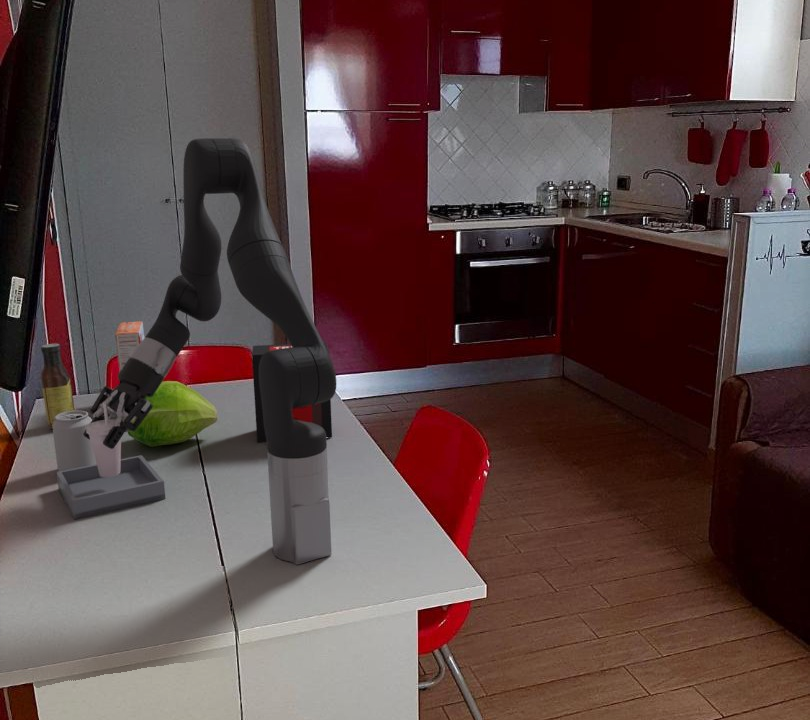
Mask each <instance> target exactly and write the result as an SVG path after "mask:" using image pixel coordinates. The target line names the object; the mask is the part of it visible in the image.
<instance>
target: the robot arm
mask: <svg viewBox="0 0 810 720" xmlns="http://www.w3.org/2000/svg"><path fill="white" fill-rule="evenodd" d="M182 172H183V182H182V183H183V219H184V222H183V223H184V225H183V226H184V233H183V243H182V250H181V256H180V257H181V258H180V264H179V265H180V266H179V269H180V273H181V274H180V275H178V276H175V277H174V278H173V279H172V280H171V281H170V283H169V285H168V287H167V289H166V291H165V293H166V294H165V296H164V298H163V299H164V300H163V302H162V306H161V308H160V311H159V314H158V315H157V318H156V320H155V322H154V323H153V325H152V326H151V328H150V329H149V331H148V332H147V334H146V335H145V336H144V339H143V341H142V342H141V343H140V344H139V345H138V346H137V347H136V349H135V350H134V352H133V353H132V355H131V356H130V358H129V359H128V361H127V362H126V364H125V365H124V366H123V368H122V369H121V371H119V372H118V374H117V379H118V381H119V383H118V385H116V387H114V388H111V387H109V386H108V385H105V386H104V387H103V388H102V389H101V391H100V393H99V395H98V397H97V398H96V400H95V402H94V403H93V404H92V406H91V408H90V410H89V413H91V415H92V421H91V423H93V422H96V421H100V420H105V416H104V408H103V402H106V406H107V414H108V420H109V419H111V418H115V417H116V419H115V420H116V424H115V426H116V427H115V426H113V427H112V429H111V430H110V432H109V433H108V435H107V436H106V438H105V439H104V441H103V444H104V445H105V446H107V447H108V448H110V449H113V448H114V447H115V445H117V443H118V441H119V440H120V438H121V439H122V437H123V436H124V434H125V433H128V431H129V430H131V431H135V430H136V429H137V428H138V426H139V425H140V424H141V422H142V421H143V420H144V418H145V417H146V415H147V414H148V413H149V411H150V410H151V409H152V407H153V405H152V404H151V403H150V402H149V401H147V400H145V398H146V397H152V396H153V395H154V393H155V392H156V390H157V389H158V387H159V386H160V384H161V383H162V382H163V381H164V380H165V378H166V376H168V373H170V370H171V369H172V368H173V365H174V363H175V362H176V359H177V358H178V356H179V354H180V353H181V351H182V350H183V348H184V347H185V345H186V344H187V342H188V341H189V339H190V335H191V332H190V330H189V328H188V327H187V326H186V325H185V324H184V323H183V322H182V321H180V320H179V319H178V318H177V313H178V312H179V311H180V312H181V313H184V314H186V315H187V316H189V317H191V318H193V319H195V320H197V321H200V322H209V321H211V320H212V319H214V318H215V317H216V316H217V315H218V313H219V311H220V308H221V304H222V291H221V290H222V289H221V284H220V278H219V272H218V271H219V265H220V261H221V255H222V247H223V246H222V239H221V236H220V233H219V230H218V228H217V227H216V225H215V224H214V222H213V221H212V219H211V217H210V216H209V214H208V212H207V210H206V208H205V196H206V195H207V194H208V195H211V194H212V195H213V194H214V195H215V194H216V195H217V194H219V195H220V194H234V195H235V196H236V197H237V199H238V203H239V208H240V209H239V213H238V217H237V219H236V222H235V224H234V226H233V230H232V232H231V234H230V237H229V240H228V243H227V246H226V247H227V248H226V257H227V258H226V259H227V262H228V265H229V269H230V272H231V273H232V276H233V277H232V278H233V279H234V283H235V285H236V288H237V289H238V291H239V293H240V294H241V296H242V297H243V298H244V299H245V301H247V302H248V303H249V304H250V305H252V306H253V307H254V308H255V309H256V310H258V312H260V313H261V314H263V315H264V316H265V317H266V318H267V319H269V320H270V321H271V322H272V323H274V325H276V326H277V327H278V328H279V329H280V331H281V332H282V333H283V334H284V336H285V337H286V339H287V340H288V342H289V344H291V346H292V347H290V348H284V349H277V350H271V351H267V352H265V353H264V354H263V355H262V357H261V360H260V363H259V385H260V393H261V401H262V410H263V421H264V430H265V435H266V441H267V442H266V453H267V467H268V469H267V470H268V472H267V473H268V485H269V486H268V487H269V503H270V504H269V506H270V522H271V523H270V524H271V537H272V552H273V554H274V555H275V557H276V558H279V560H282V561H287V562H291V563H293V564H295V565H297V566H298V565H301V564H304V563H307V562H310V561H314V560H318V559H321V558H325V557H329V556H331V555H332V532H331V510H330V509H331V508H330V497H329V495H330V493H329V476H328V475H329V473H328V470H329V469H328V447H327V445H328V443H327V438H326V432H325V430H324V429H323V428H322V427H321V426H319V425H316V424H314V423H310V422H304V421H298V420H295V419H293V415H292V408H298V407H303V406H308V405H314V404H318V403H322V402H326V401H328V400H330V399H331V400H332V398H333V397H334V396H335V394H336V391H337V375H336V371H335V366H334V364H333V360H332V358H331V356H330V352H329V353H328V351H327V349H326V347H325V345H324V343H323V342H324V341H323V338H322V337H321V335H320V333H319V331H318V328H317V326H316V325H315V322H314V321H313V319H312V316H311V315H310V312H309V310H308V308H307V306H306V304H305V302H304V299H303V297H302V294H301V292H300V290H299V287H298V284H297V281H296V279H295V277H294V273H293V270H292V267H291V264H290V261H289V259H288V257H287V254H286V251H285V249H284V248H285V247H284V246H283V244H282V241H281V239H280V237H279V235H278V232H277V230H276V227H275V225H274V222H273V220H272V216H271V213H270V212H269V211H270V210H269V209H268V206H267V203H266V200H265V196H264V192H263V189H262V186H261V182H260V179H259V175H258V174H259V173H258V171H257V167H256V164H255V160H254V158H253V156H252V153H251V151H250V148H249V147H248V145H247V144H246V142H244V141H243V140H241V139H238V138H226V137H225V138H224V137H223V138H220V137H219V138H216V137H215V138H213V137H212V138H195V139H192V140H190V141H189V142H188V144H187V145H186V148H185V152H184V158H183V171H182ZM99 407H100V408H99ZM140 411H141V412H140ZM135 416H136V417H137V419H136V421H135V422H134V423H132V421H134V420H135ZM123 420H124V421H123ZM86 431H87V430H85V432H84V433H83V435H84V436H85V437H86V438H88V439H89V440H90V437H89V434H87V433H86Z"/></svg>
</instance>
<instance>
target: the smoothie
mask: <svg viewBox="0 0 810 720" xmlns="http://www.w3.org/2000/svg"><path fill="white" fill-rule="evenodd" d="M103 408H104V416H105V420H100V421H96V422H93V423H90V424H89V425H87V426H86V430H87V431H86V433H87V434H89V437H90V441H91V445H92V448H93V452H94V456H95V460H96V463H97V467H98V471H99V475H100V476H101V477H113V476H116V475H118V474H120V467H121V459H122V456H121V455H122V437H121V438H120V440H119V441H118V443H117V445H115V447H114V448H113V449H110V448H108V447H107V446H105V445H104V444H103V441H104V439H105V438H106V436H107V435H108V433H109V432H110V430H111V429H112V427H113V426H115V424H116V420H117V419H111V418H110V419H109V420H108V414H107V406H106V402H103ZM115 427H116V426H115Z"/></svg>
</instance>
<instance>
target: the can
mask: <svg viewBox="0 0 810 720" xmlns="http://www.w3.org/2000/svg"><path fill="white" fill-rule="evenodd" d="M55 419H56V420H55V421H54V423H53V424H52V428H53V430H52V434H53V443H54V450H55V458H56V467H57V470H58V471H57V472H59V471H64V470H69V469H74V468H79V467H84V466H89V465H94V464H97V463H96V460H95V456H94V452H93V448H92V445H91V441H90V440H89V439H88V438H86V437H85V436H84V435H83V433H84V432H85V430H86V426H87V425H89V424H90V423H91V421H92V420H93V418H91V417H90V416H89V413H88V412H87V411H85V410H75V411H68V412H63V413H60V414H58V415H56V416H55Z"/></svg>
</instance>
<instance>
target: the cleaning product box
mask: <svg viewBox="0 0 810 720" xmlns="http://www.w3.org/2000/svg"><path fill="white" fill-rule="evenodd" d="M323 343H324V345H325V347H326V349H327V351H328V353H329V354H330V351H329V347H328V344H327V343H328V342H326V341H325V342H324V341H323ZM290 347H292V346H291V344H290V343H286V344H285V343H284V344H282V343H281V344H267V345H266V344H263V345H259V344H258V345H253V346H252V350H251V351H252V353H251V363H252V375H253V378H252V379H253V392H254V393H253V395H254V410H255V413H254V414H255V424H256V425H255V427H256V440H257V441H256V443H257V444H259V443H267V441H266V435H265V430H264V421H263V410H262V401H261V393H260V385H259V363H260V360H261V357H262V355H263V354H264V353H265V352H267V351H271V350H277V349H284V348H290ZM331 400H332V398H331V399H330V400H328V401H326V402H322V403H318V404H314V405H308V406H303V407H298V408H292V415H293V419H295V420H298V421H304V422H310V423H314V424H316V425H319V426H321V427H322V428H323V429H324V430H325V432H326V437H332V438H333V430H332V429H333V428H332V425H333V424H332V423H333V422H332V403H331V402H332V401H331Z"/></svg>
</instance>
